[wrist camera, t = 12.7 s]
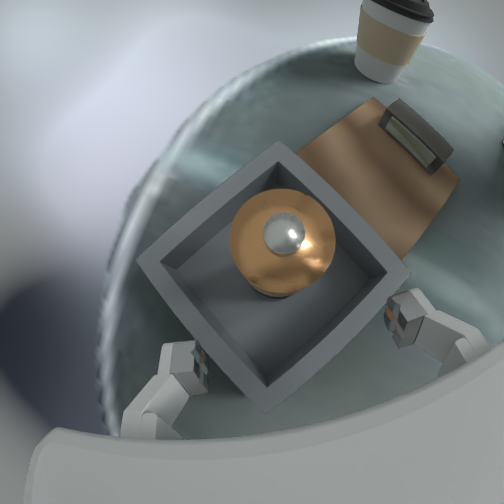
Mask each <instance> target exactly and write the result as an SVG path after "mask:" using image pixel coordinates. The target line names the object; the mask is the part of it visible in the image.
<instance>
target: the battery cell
mask: <svg viewBox="0 0 504 504" xmlns="http://www.w3.org/2000/svg"><path fill="white" fill-rule="evenodd" d="M335 243H336V239H335V231H334V227H333V224H332V221H331V219H330V217H329V215H328V214H327V212H326V211H325V209H324V208H323V207H322V206H321V205H320V204H319V203H318V202H317V201H316V200H314V199H313V198H311V197H310V196H308V195H306V194H304V193H302V192H299V191H296V190H291V189H272V190H268V191H264V192H262V193H259V194H257V195H255V196H254V197H252V198H251V199H249V200H248V201H247V202H246V203H245V204H244V205H242V207H241V208H240V209H239V210H238V212H237V214H236V215H235V217H234V219H233V222H232V225H231V228H230V234H229V244H230V251H231V254H232V257H233V260H234V262H235V264H236V266H237V267H238V269H239V270H240V272H241V273H242V275H243V276H244V278H245V279H246V281H247V282H248V283H249V285H250V286H251V288H252V289H253V291H254V292H255V293H256V294H257V295H258V296H260V297H261V298H263V299H265V300H269V301H281V300H284V299H286V298H288V297H290V296H292V295H293V294H295V293H297V292H299V291H301V290H302V289H304V288H306V287H307V286H309V285H311V284H312V283H314V282H315V281H317V280H318V279H319V278H320V277H321V276H322V275H323V274H324V273H325V271H326V270H327V268H328V267H329V265H330V263H331V261H332V258H333V255H334V251H335Z"/></svg>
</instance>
